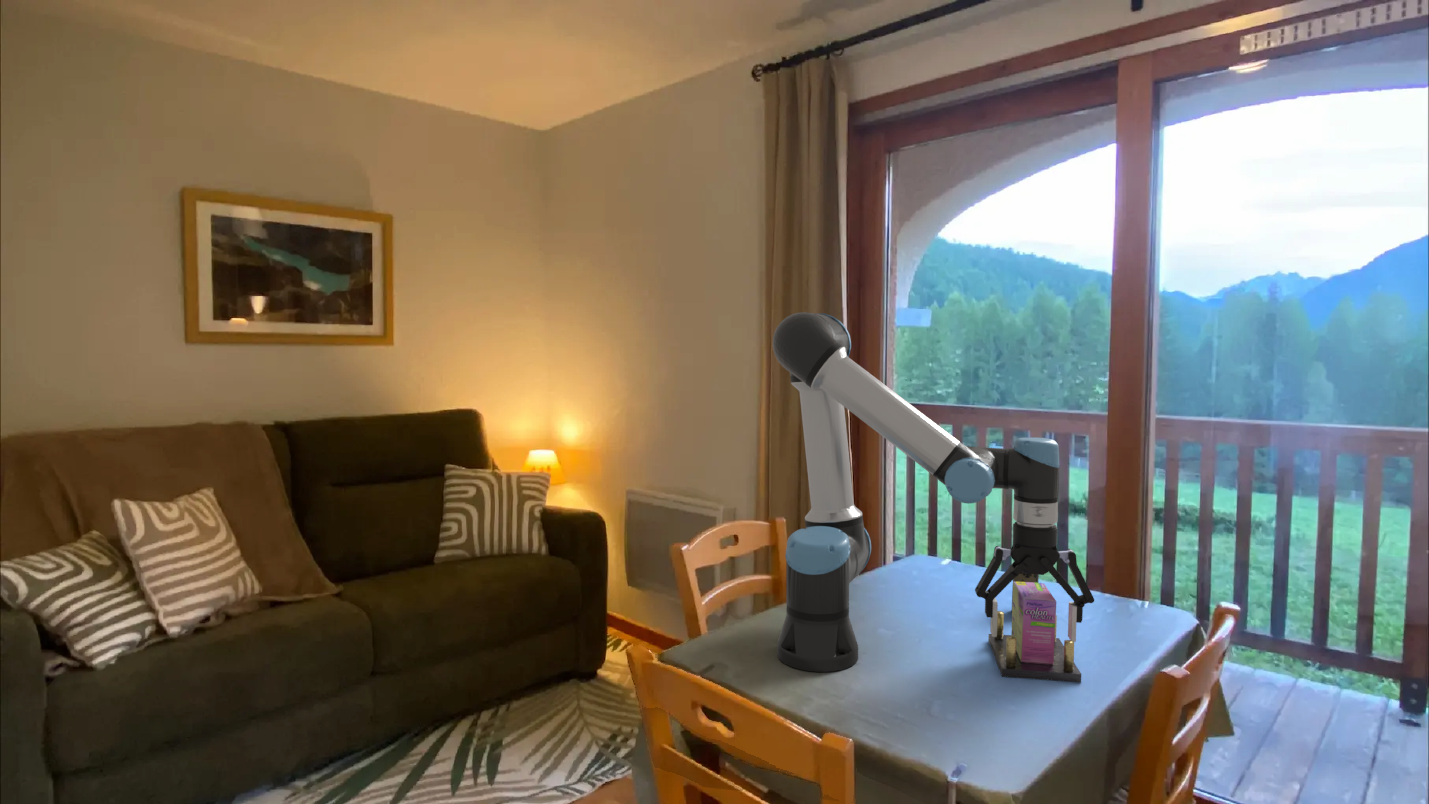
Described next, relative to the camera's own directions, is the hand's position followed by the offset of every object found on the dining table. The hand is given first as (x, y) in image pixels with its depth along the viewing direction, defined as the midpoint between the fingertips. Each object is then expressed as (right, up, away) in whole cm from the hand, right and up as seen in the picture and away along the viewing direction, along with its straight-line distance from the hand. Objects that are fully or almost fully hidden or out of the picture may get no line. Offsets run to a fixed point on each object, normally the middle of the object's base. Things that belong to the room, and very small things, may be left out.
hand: (1032, 636), depth 147 cm
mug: (+9, -3, +27) cm, 29 cm away
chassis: (0, -5, 0) cm, 4 cm away
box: (0, -3, 0) cm, 3 cm away
